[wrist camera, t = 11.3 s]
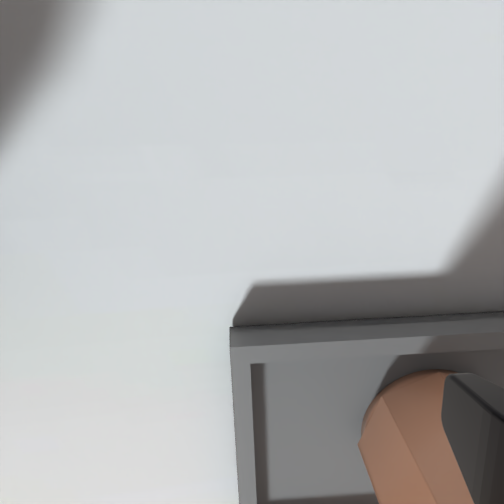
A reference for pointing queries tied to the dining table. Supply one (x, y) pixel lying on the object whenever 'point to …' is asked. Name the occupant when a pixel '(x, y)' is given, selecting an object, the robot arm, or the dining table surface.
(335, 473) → the tray
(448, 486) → the cup
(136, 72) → the dining table surface
